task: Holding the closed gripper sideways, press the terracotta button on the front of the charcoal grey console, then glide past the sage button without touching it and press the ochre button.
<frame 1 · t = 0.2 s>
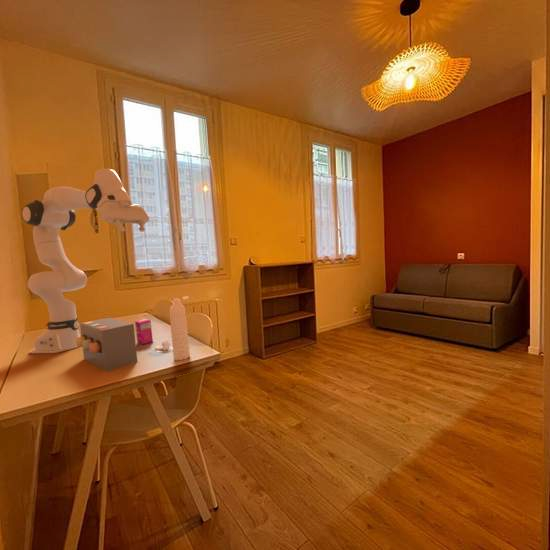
hand: (133, 230, 127), 54 cm above the table, tool tilted 30°, fingers open, 8 cm apart
water bottle: (184, 357, 129), on the table
terracotta button: (94, 347, 119), point 9 cm above the table, slide at 0.0 cm
teacup and saucer: (166, 348, 145), on the table
ochre button: (81, 341, 130), point 9 cm above the table, slide at 0.0 cm
supplement box: (145, 343, 155), on the table
console: (109, 360, 131), on the table
sage button: (87, 344, 125), point 9 cm above the table, slide at 0.0 cm
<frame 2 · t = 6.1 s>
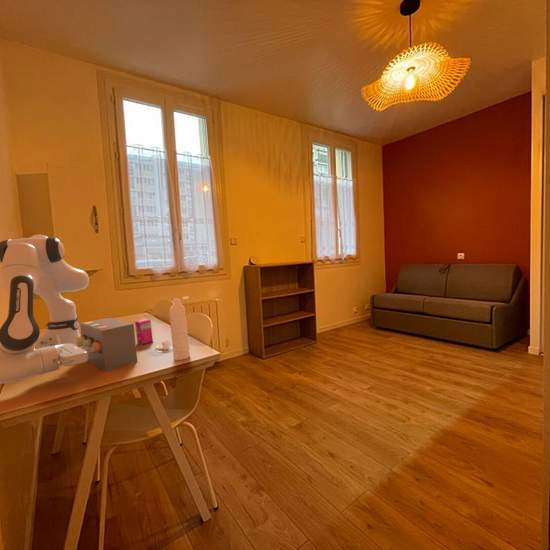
hand: (93, 348, 119), 9 cm above the table, tool horizontal, fingers closed, pressing on terracotta button
terracotta button: (97, 346, 120), point 9 cm above the table, slide at 1.1 cm, touching gripper
everything else where it was.
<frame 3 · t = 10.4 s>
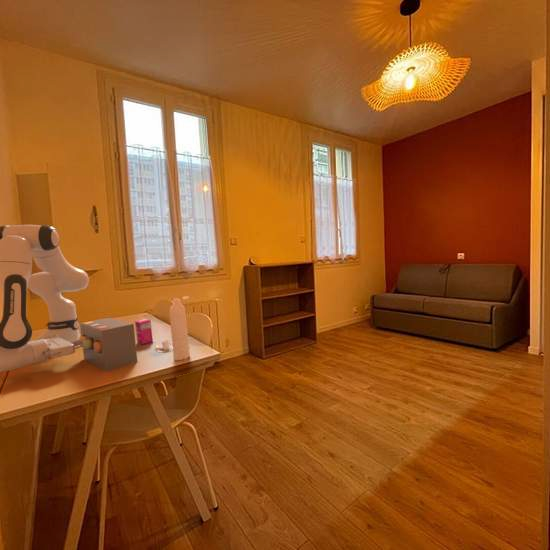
hand: (80, 341, 130), 9 cm above the table, tool horizontal, fingers closed, pressing on ochre button
terracotta button: (99, 346, 120), point 9 cm above the table, slide at 1.6 cm
ochre button: (84, 340, 131), point 9 cm above the table, slide at 1.2 cm, touching gripper
everything else where it was.
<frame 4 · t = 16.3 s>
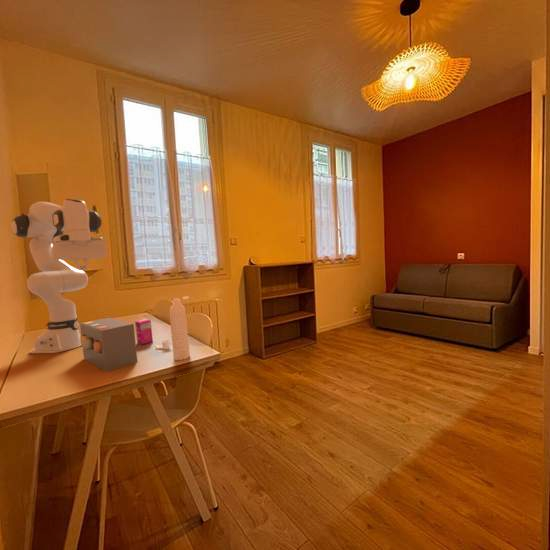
hand: (82, 269, 133), 39 cm above the table, tool pointing down, fingers closed
ochre button: (85, 340, 131), point 9 cm above the table, slide at 1.6 cm
everything else where it was.
at the end: terracotta button slide at 1.6 cm; ochre button slide at 1.6 cm; sage button slide at 0.0 cm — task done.
